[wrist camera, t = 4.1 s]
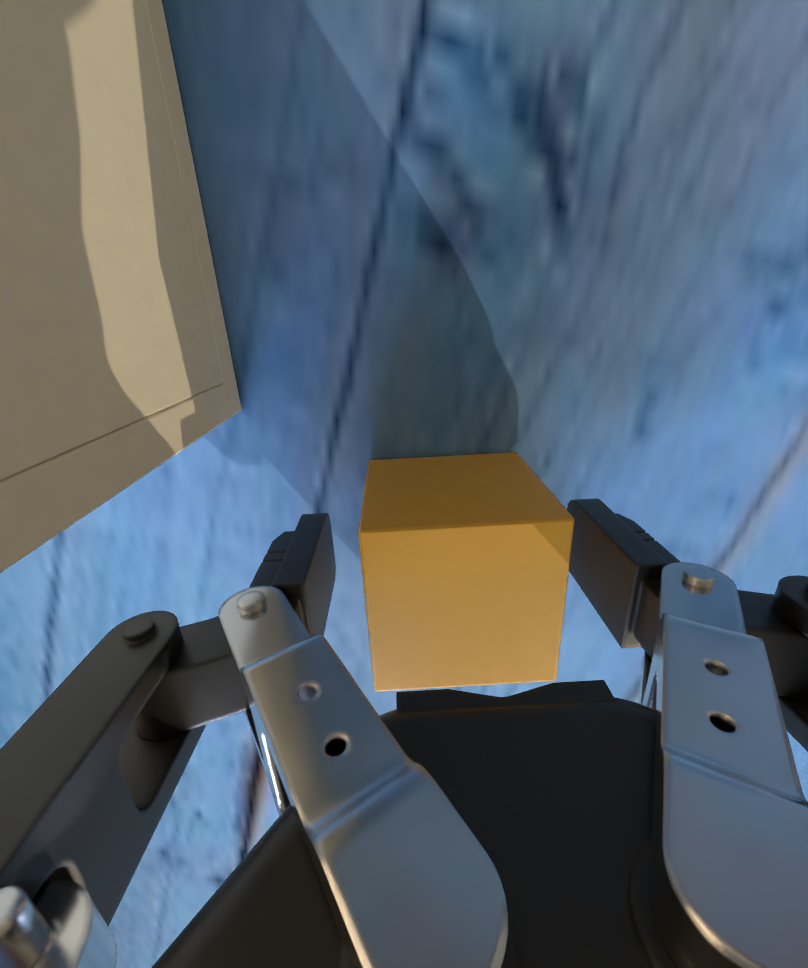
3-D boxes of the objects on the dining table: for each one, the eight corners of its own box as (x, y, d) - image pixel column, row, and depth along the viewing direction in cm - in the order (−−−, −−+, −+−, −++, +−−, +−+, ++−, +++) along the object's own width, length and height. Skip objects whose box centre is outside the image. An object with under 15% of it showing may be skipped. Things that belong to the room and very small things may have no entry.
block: (378, 583, 14) (374, 692, 10) (368, 459, 13) (357, 530, 9) (509, 575, 14) (557, 681, 10) (516, 451, 13) (576, 518, 9)
